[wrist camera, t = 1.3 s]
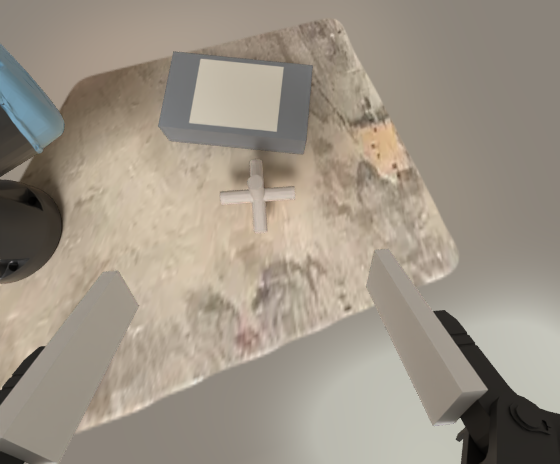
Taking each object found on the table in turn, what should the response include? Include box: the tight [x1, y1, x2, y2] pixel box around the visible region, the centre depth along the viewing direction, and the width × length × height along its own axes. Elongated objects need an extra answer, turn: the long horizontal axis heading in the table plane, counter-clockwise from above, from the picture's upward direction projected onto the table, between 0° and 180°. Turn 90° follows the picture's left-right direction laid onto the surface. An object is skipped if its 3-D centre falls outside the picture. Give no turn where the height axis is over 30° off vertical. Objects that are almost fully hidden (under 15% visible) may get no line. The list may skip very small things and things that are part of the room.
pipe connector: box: [220, 159, 295, 233], centre depth 33 cm, size 10×10×10 cm
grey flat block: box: [158, 52, 313, 154], centre depth 38 cm, size 22×13×4 cm, turn 84°
